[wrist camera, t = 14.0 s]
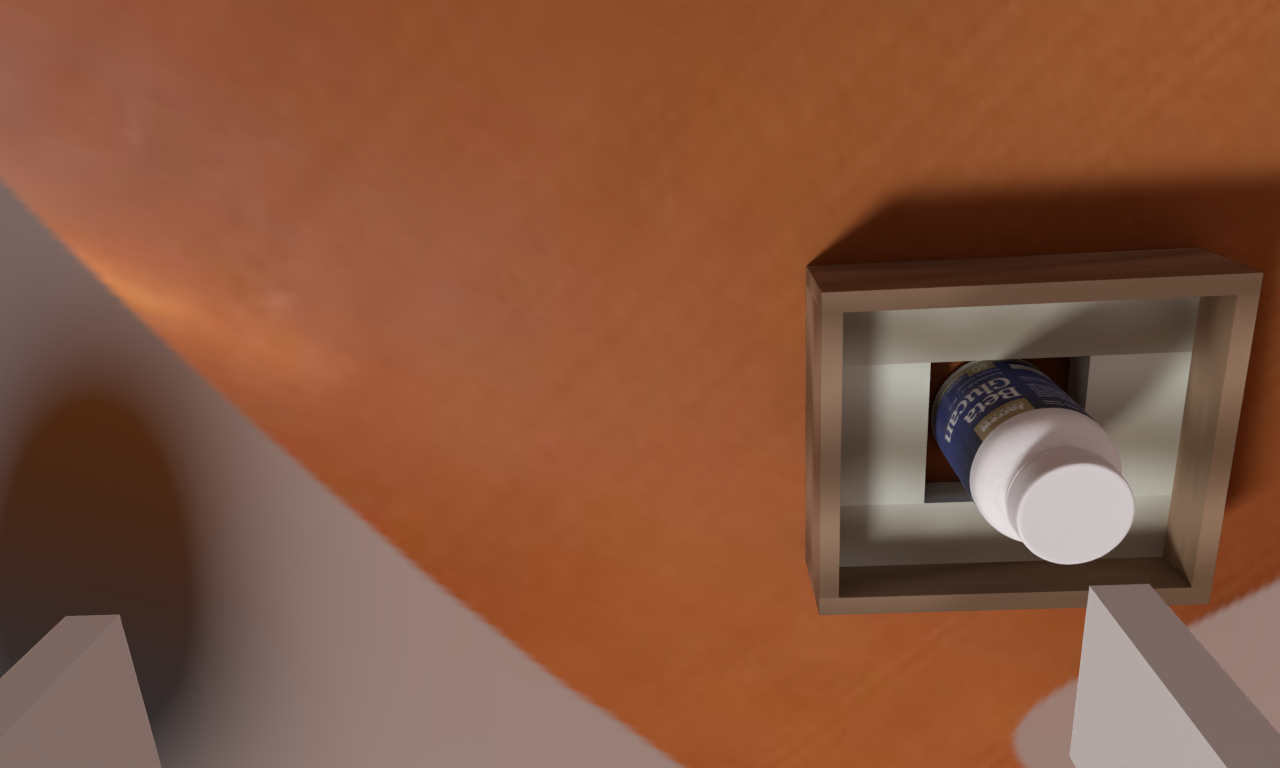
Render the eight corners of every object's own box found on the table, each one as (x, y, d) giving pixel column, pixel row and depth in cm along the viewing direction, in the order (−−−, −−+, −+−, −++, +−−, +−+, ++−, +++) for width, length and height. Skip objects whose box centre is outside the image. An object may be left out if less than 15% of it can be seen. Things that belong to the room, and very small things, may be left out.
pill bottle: (971, 331, 41) (1057, 416, 32) (1078, 385, 42) (1192, 484, 32) (904, 435, 43) (966, 544, 34) (1007, 486, 43) (1096, 606, 34)
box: (806, 266, 40) (821, 292, 36) (1200, 247, 39) (1263, 272, 35) (805, 560, 45) (819, 615, 41) (1157, 549, 44) (1208, 603, 40)
